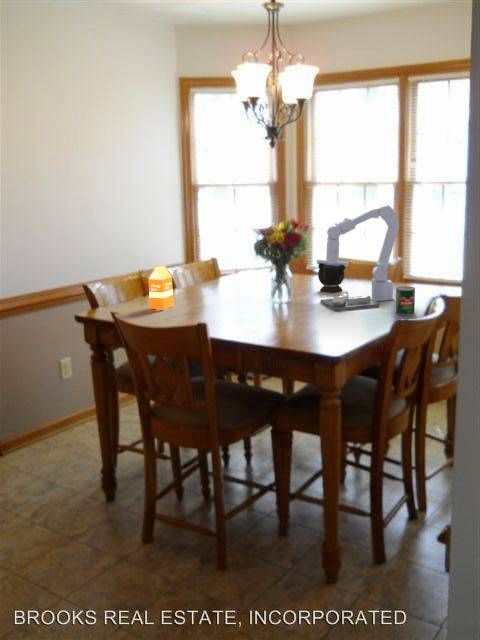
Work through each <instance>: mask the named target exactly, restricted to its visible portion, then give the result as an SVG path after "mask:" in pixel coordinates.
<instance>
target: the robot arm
mask: <svg viewBox="0 0 480 640" xmlns="http://www.w3.org/2000/svg"><path fill="white" fill-rule="evenodd" d="M379 218H381V219H382V220H384V222H385V223H386V225H387V228H386V233H385V236H384V240H383V243H382V246H381V249H380V253H379V256H378V259H377V260H376V261H377V262H376V264H375V266H374V267H373V268H372V270H371V271H372V272H371V273H372V276H373V278H372V279H371V296H370V297H371V300H372V301H374V302H382V301H383V302H384V301H393V300H395V299H394V284H393V281H392V280H390V279H388V267H389V261H390V258H391V255H392V251H393V247H394V245H395V241H396V237H397V234H398V231H399V227H400V224H399V220H398V216H397V213H396V211H395V210H394V209H393V207H392V206H390V205H389V204H387V203H386V204H385V203H384V204H382V205H380V206H376V207H373V208H371V209H369V210H367V211H365V212H363V213H362V214H359V215H358V216H356V217H353V218H352V217H345V218H344V219H343V220H342V221H340V222H338V223H337V222H336V223H334V225H330V226H328V229H327V231H326V233H327V242H326V254H325V255H326V259H316V265H318V266H317V267H318V270H319V269H320V272H321V275H322V280H325V270H326V265H336V266H339V267H338V281H341V277H342V274H343V272H344V273H345V270H346V268H347V267H348V266H349V265H348V264H349V262H348V261H341V260H339V256H340V236H342V235H345V234H347V233H349V232H351V231H353V230H355V229H356V227H357V225H359V224H361V223H362V224H363V222H366V221H369V220H371V219H379Z"/></svg>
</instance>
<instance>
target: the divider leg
mask: <svg viewBox="0 0 480 640" xmlns="http://www.w3.org/2000/svg"><path fill="white" fill-rule="evenodd" d="M342 295H345V296H346V300H347V298H349V297H350V296H349V292H348V291H345V292H344V294H342Z"/></svg>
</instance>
